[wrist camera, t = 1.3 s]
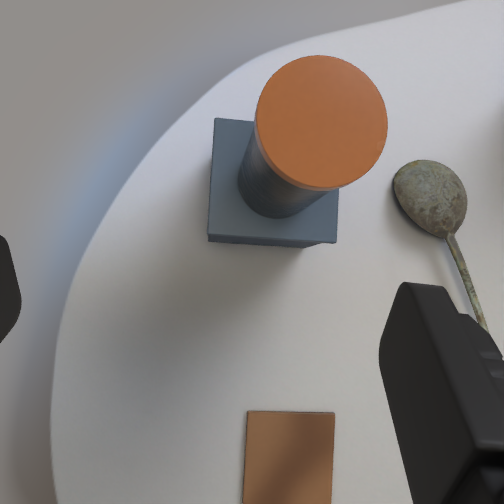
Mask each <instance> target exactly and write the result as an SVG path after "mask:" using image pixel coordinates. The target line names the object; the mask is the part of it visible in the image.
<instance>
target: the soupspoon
mask: <svg viewBox="0 0 504 504" xmlns="http://www.w3.org/2000/svg"><path fill="white" fill-rule="evenodd" d="M394 190H395V194H396V196H397V198H398V201H399V203H400V204H401V206H402V208H403V209H404V211H405V212H406V213H407V214H408V216H409V217H410V218H411V219H412V220H413V221H414V222H415V223H416V224H418V225H419V226H420V227H422V228H423V229H425V230H426V231H428V232H429V233H432V234H433V235H436V236H439V237H442V238H444V239H445V240H446V242H447V244H448V246H449V249H450V251H451V253H452V255H453V258H454V260H455V262H456V265H457V267H458V270H459V272H460V275H461V277H462V280H463V283H464V285H465V288H466V291H467V293H468V296H469V299H470V302H471V304H472V307H473V310H474V313H475V315H476V318H477V321H478V324H479V325H480V326H481V327H482V328H484V329H485V330H486V331H487V332H488V333H489V331H488V328H487V324H486V321H485V318H484V315H483V312H482V309H481V306H480V304H479V301H478V298H477V295H476V292H475V289H474V287H473V284H472V281H471V278H470V275H469V272H468V269H467V267H466V263H465V261H464V258H463V256H462V253H461V251H460V248H459V246H458V243H457V241H456V239H455V236H454V234H455V233H456V231H457V230H458V229H459V227H460V226H461V224H462V222H463V220H464V218H465V214H466V210H467V195H466V191H465V188H464V186H463V184H462V182H461V180H460V179H459V178H458V176H457V175H456V174H455V173H454V172H453V171H452V170H451V169H450V168H448V167H447V166H445V165H443V164H441V163H438V162H435V161H429V160H417V161H413V162H411V163H408V164H406V165H405V166H403V167H402V168H401V169H400V170H399V171H398V172H397V174H396V176H395V178H394Z"/></svg>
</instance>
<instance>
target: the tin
mask: <svg viewBox="0 0 504 504" xmlns="http://www.w3.org/2000/svg"><path fill="white" fill-rule="evenodd" d="M387 129H388V121H387V113H386V108H385V105H384V102H383V99H382V97H381V94H380V93H379V91H378V89H377V87H376V86H375V85H374V83H373V82H372V81H371V79H370V78H369V77H368V76H367V75H366V74H365V73H364V72H362V71H361V70H360V69H359V68H357V67H356V66H354V65H352V64H351V63H349V62H346V61H344V60H342V59H339V58H335V57H330V56H322V55H316V56H307V57H302V58H299V59H296V60H294V61H292V62H290V63H288V64H286V65H284V66H283V67H282V68H280V69H279V70H278V71H277V72H276V73H275V74H273V75H272V77H271V78H270V79H269V80H268V82H267V83H266V85H265V87H264V88H263V90H262V93H261V95H260V98H259V101H258V104H257V108H256V111H255V119H254V128H253V131H252V134H251V137H250V140H249V142H248V145H247V148H246V151H245V154H244V156H243V159H242V162H241V165H240V168H239V172H238V187H239V191H240V194H241V196H242V198H243V200H244V202H245V203H246V204H247V205H248V206H249V207H250V208H251V209H252V210H253V211H254V212H256V213H257V214H259V215H261V216H263V217H266V218H271V219H284V218H288V217H291V216H293V215H295V214H297V213H299V212H300V211H302V210H303V209H305V208H306V207H308V206H309V205H311V204H312V203H314V202H315V201H317V200H318V199H320V198H321V197H323V196H325V195H326V194H328V193H329V192H331V191H332V190H335V189H338V188H342V187H344V186H346V185H349V184H350V183H352V182H354V181H355V180H357V179H359V178H360V177H362V176H363V175H364V174H365V173H367V172H368V171H369V170H370V169H371V168H372V167H373V165H374V164H375V163H376V161H377V160H378V158H379V156H380V155H381V153H382V150H383V148H384V145H385V142H386V137H387Z"/></svg>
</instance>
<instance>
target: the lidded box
mask: <svg viewBox="0 0 504 504" xmlns="http://www.w3.org/2000/svg"><path fill="white" fill-rule="evenodd" d="M253 128H254V122H253V121H243V120H233V119H223V118H215V119H214V134H213V150H212V165H211V181H210V196H209V212H208V227H207V235H208V241H209V242H222V243H237V244H252V245H267V246H282V247H297V248H306V247H310V246H313V245H317V244H320V243H331V244H333V243H336V242H337V219H338V197H339V188H338V189H335V190H332V191H331V192H329V193H328V194H326V195H325V196H323V197H321V198H320V199H318V200H317V201H315V202H314V203H312V204H311V205H309V206H308V207H306V208H305V209H303V210H302V211H300V212H299V213H297V214H295V215H293V216H291V217H288V218H284V219H271V218H266V217H263V216H261V215H259V214H257V213H256V212H254V211H253V210H252V209H251V208H250V207H249V206H248V205H247V204H246V203H245V202H244V200H243V198H242V196H241V194H240V191H239V187H238V172H239V168H240V165H241V162H242V159H243V156H244V154H245V151H246V148H247V145H248V142H249V140H250V137H251V134H252V131H253Z"/></svg>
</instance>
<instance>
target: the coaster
mask: <svg viewBox="0 0 504 504" xmlns="http://www.w3.org/2000/svg"><path fill="white" fill-rule="evenodd" d="M334 428H335V414H334V413H322V412H276V411H248V413H247V430H246V448H245V465H244V483H243V501H242V503H243V504H331V496H332V473H333V451H334Z"/></svg>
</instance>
